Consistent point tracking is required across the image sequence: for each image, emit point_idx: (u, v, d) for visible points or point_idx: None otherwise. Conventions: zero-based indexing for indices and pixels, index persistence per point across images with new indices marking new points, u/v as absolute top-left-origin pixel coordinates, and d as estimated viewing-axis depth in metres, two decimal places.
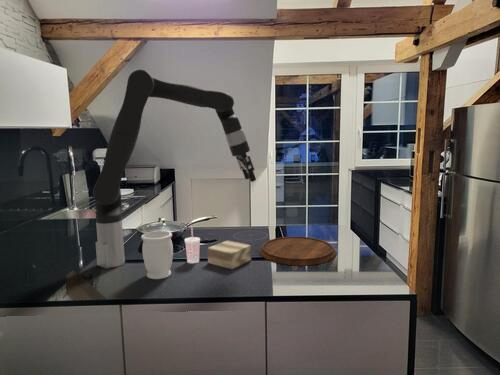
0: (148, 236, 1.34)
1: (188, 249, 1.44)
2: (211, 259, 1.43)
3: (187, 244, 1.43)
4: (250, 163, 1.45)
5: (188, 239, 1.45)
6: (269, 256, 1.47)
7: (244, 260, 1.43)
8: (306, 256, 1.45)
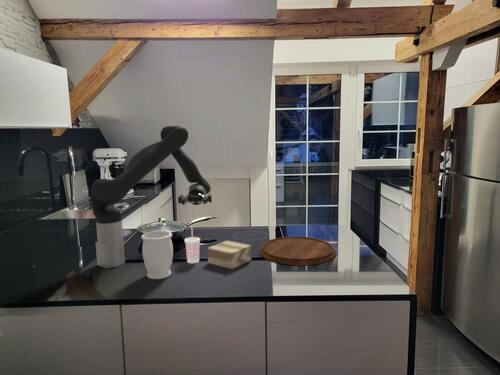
0: (148, 236, 1.34)
1: (188, 249, 1.44)
2: (211, 259, 1.43)
3: (187, 244, 1.43)
4: (211, 199, 1.62)
5: (188, 239, 1.46)
6: (269, 256, 1.47)
7: (244, 260, 1.43)
8: (306, 256, 1.45)
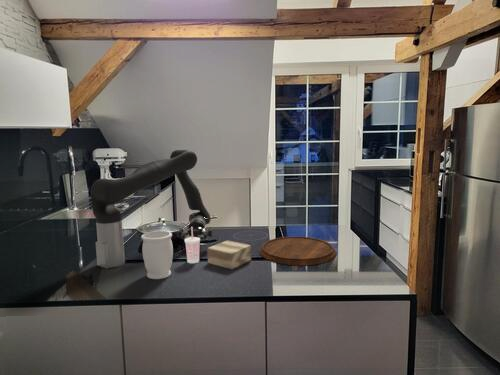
0: (148, 236, 1.34)
1: (188, 249, 1.44)
2: (211, 259, 1.43)
3: (187, 244, 1.43)
4: None
5: (188, 239, 1.45)
6: (269, 256, 1.47)
7: (244, 260, 1.43)
8: (306, 256, 1.45)
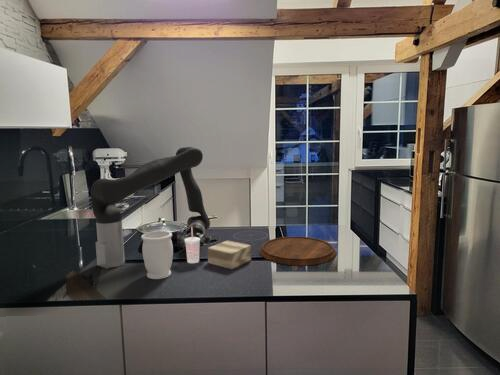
0: (148, 236, 1.34)
1: (188, 249, 1.44)
2: (211, 259, 1.43)
3: (187, 244, 1.43)
4: (209, 240, 1.51)
5: (188, 239, 1.45)
6: (269, 256, 1.47)
7: (244, 260, 1.43)
8: (306, 256, 1.45)
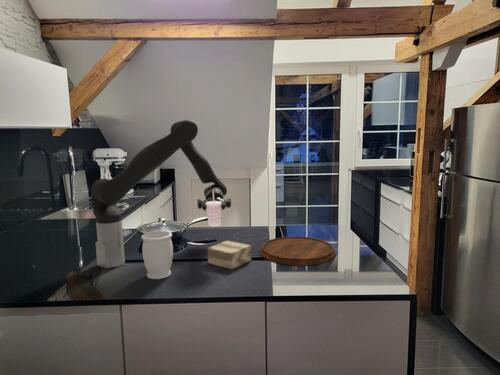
0: (148, 236, 1.34)
1: (210, 212, 1.42)
2: (211, 259, 1.43)
3: (209, 207, 1.41)
4: (230, 204, 1.49)
5: (209, 202, 1.43)
6: (269, 256, 1.47)
7: (244, 260, 1.43)
8: (306, 256, 1.45)
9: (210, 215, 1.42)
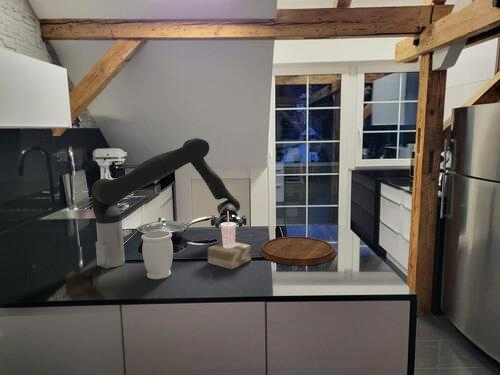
0: (148, 236, 1.34)
1: (224, 234, 1.42)
2: (211, 259, 1.43)
3: (223, 229, 1.42)
4: None
5: (224, 224, 1.44)
6: (269, 256, 1.47)
7: (244, 260, 1.43)
8: (306, 256, 1.45)
9: (225, 237, 1.42)
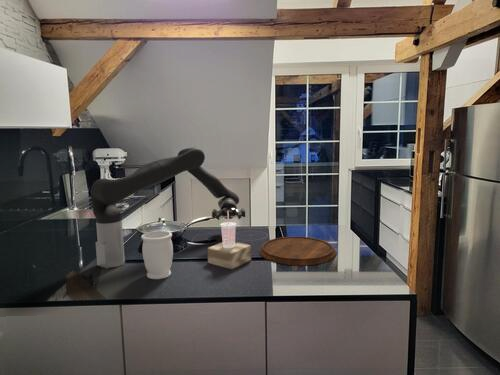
0: (148, 236, 1.34)
1: (224, 234, 1.42)
2: (211, 259, 1.43)
3: (223, 229, 1.42)
4: None
5: (224, 224, 1.44)
6: (269, 256, 1.47)
7: (244, 260, 1.43)
8: (306, 256, 1.45)
9: (225, 237, 1.42)
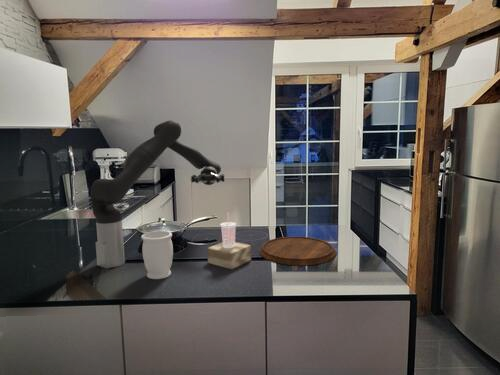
0: (148, 236, 1.34)
1: (224, 234, 1.42)
2: (211, 259, 1.43)
3: (223, 229, 1.42)
4: None
5: (224, 224, 1.44)
6: (269, 256, 1.47)
7: (244, 260, 1.43)
8: (306, 256, 1.45)
9: (225, 237, 1.42)
